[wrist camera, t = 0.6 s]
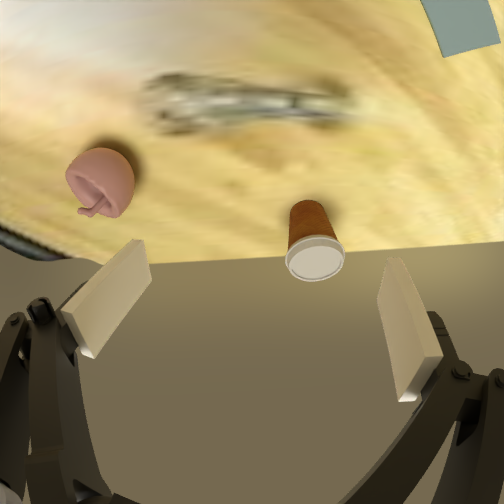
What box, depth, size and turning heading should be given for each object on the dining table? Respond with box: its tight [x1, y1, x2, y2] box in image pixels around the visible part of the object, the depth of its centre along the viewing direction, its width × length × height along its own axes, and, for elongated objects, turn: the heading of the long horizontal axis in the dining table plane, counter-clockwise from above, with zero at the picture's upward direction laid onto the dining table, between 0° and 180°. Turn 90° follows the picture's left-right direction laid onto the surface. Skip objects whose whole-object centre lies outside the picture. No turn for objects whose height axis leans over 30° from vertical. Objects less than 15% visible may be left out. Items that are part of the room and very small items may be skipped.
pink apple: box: [65, 148, 135, 218], centre depth 39 cm, size 12×12×11 cm
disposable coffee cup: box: [285, 200, 345, 281], centre depth 48 cm, size 10×10×12 cm
